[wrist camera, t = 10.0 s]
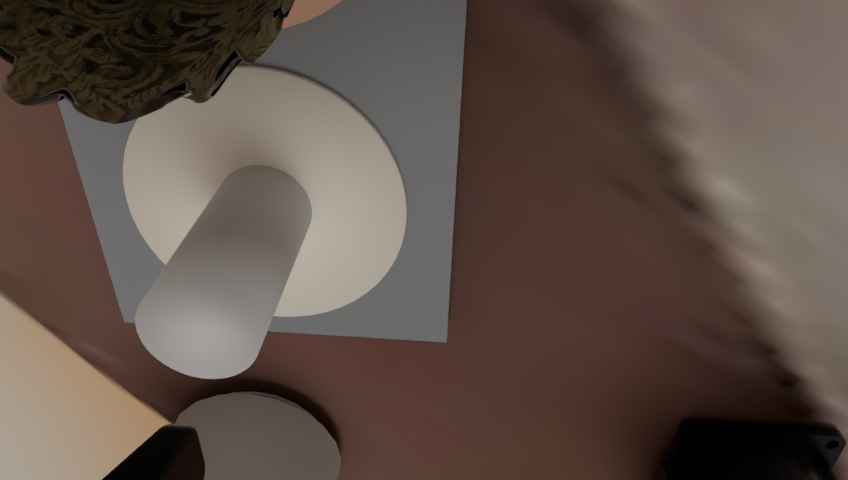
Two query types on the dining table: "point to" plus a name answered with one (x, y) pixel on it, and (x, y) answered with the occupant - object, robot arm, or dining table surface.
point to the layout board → (404, 106)
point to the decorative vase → (130, 50)
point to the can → (261, 439)
